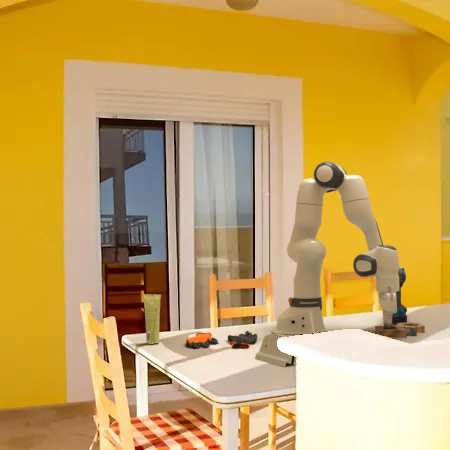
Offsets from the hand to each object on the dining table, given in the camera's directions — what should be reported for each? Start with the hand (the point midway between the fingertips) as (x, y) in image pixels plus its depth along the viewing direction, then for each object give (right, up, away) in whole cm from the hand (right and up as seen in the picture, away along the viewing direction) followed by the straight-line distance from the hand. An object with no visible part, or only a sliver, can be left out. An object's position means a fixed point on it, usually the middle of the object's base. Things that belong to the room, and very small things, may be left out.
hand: (388, 321), depth 244 cm
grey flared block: (-46, -8, -36) cm, 59 cm away
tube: (-92, -9, +1) cm, 93 cm away
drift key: (+6, -5, 0) cm, 8 cm away
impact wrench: (+12, -5, +30) cm, 33 cm away
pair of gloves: (-65, -9, -1) cm, 66 cm away
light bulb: (0, -4, 0) cm, 4 cm away
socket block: (+1, -6, +1) cm, 6 cm away
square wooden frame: (+12, -5, +9) cm, 16 cm away
